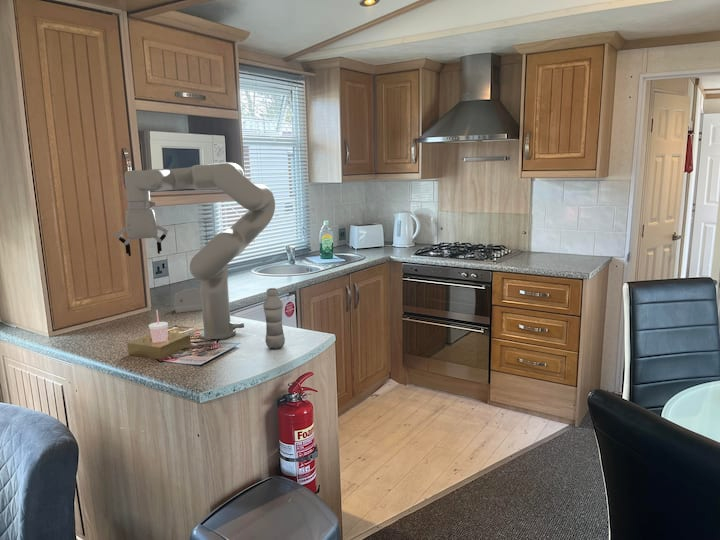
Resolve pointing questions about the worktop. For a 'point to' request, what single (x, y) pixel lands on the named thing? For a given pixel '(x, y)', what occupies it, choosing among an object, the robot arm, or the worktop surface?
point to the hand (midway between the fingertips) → (144, 254)
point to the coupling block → (158, 346)
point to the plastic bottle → (273, 319)
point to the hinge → (188, 300)
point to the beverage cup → (159, 330)
